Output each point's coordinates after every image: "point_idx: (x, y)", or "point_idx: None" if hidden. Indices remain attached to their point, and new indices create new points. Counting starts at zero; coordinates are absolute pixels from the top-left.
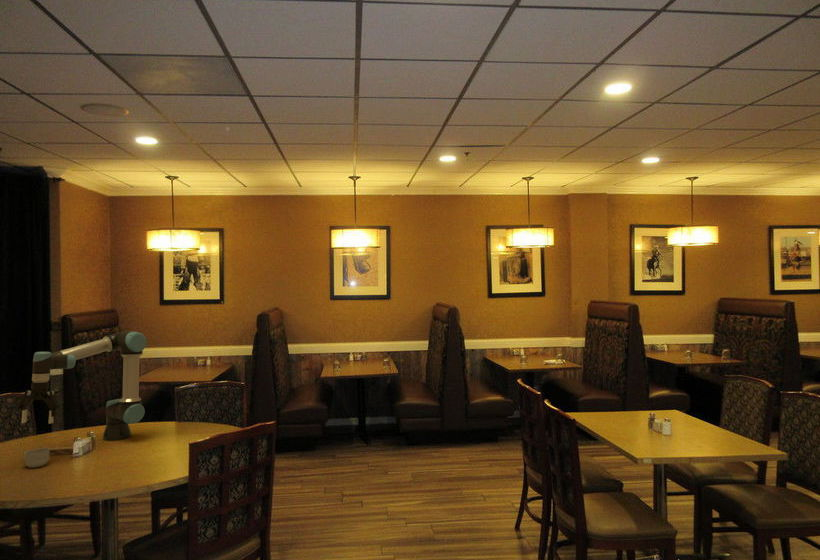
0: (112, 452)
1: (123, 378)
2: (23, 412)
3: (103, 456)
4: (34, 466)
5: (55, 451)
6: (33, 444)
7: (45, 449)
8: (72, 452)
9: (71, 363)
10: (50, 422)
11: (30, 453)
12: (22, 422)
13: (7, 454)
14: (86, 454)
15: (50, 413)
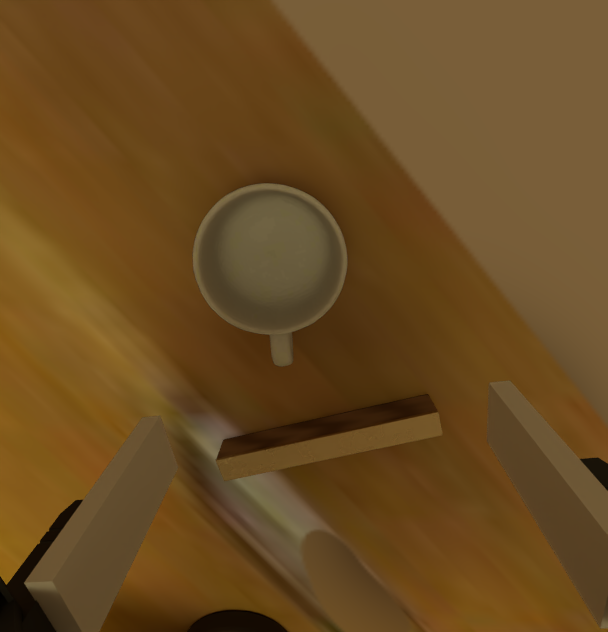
0: (70, 471)
1: None
2: (590, 505)
3: (57, 415)
4: (255, 208)
5: (322, 429)
6: None
7: (263, 325)
8: (243, 441)
9: None
10: (139, 432)
11: (334, 277)
12: (500, 388)
13: (592, 414)
14: (171, 437)
15: (63, 533)
